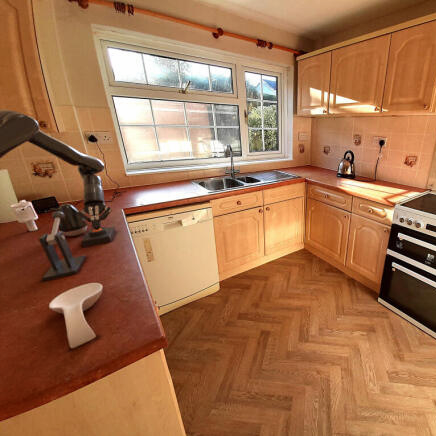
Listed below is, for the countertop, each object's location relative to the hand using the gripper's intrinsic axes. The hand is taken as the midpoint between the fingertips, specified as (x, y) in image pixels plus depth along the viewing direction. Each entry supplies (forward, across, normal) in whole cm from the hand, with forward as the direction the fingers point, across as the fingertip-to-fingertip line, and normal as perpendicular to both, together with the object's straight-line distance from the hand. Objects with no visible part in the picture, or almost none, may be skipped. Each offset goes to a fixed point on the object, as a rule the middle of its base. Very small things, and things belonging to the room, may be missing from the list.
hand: (96, 228), depth 109 cm
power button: (+2, 0, +2) cm, 2 cm away
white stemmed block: (-18, -34, +26) cm, 46 cm away
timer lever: (+7, -6, -18) cm, 20 cm away
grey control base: (+4, 0, +4) cm, 5 cm away
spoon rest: (+44, +6, -36) cm, 57 cm away
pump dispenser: (-5, -12, +12) cm, 18 cm away
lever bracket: (+20, -6, -13) cm, 25 cm away
